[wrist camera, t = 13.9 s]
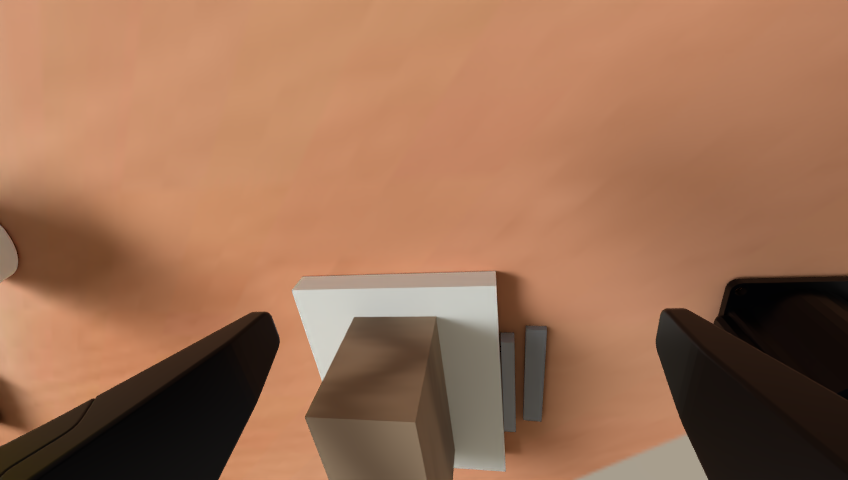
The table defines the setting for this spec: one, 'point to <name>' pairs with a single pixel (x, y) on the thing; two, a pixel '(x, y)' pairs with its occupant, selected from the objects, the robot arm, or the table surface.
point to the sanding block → (385, 404)
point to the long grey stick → (508, 381)
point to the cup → (7, 256)
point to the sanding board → (458, 334)
